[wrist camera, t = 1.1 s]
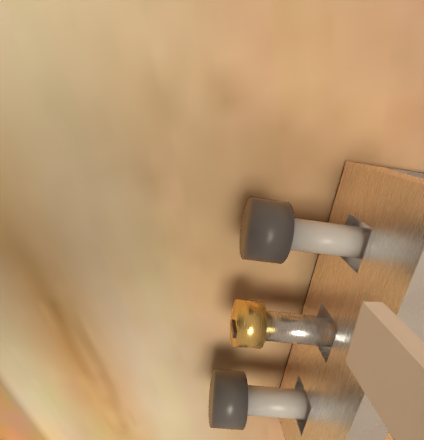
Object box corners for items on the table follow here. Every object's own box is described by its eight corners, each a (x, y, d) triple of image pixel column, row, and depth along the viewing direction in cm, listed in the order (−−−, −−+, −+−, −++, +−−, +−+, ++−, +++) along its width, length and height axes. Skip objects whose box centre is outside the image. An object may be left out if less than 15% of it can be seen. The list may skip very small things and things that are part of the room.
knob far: (208, 394, 33) (209, 440, 28) (215, 357, 31) (217, 400, 27) (304, 402, 34) (321, 448, 29) (316, 367, 32) (336, 410, 28)
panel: (275, 403, 37) (308, 529, 26) (346, 161, 28) (447, 191, 16) (340, 409, 38) (401, 533, 27) (431, 174, 29) (584, 212, 17)
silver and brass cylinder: (225, 325, 30) (229, 356, 26) (232, 290, 28) (237, 317, 25) (329, 336, 30) (348, 367, 27) (341, 302, 29) (362, 330, 25)
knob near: (237, 244, 27) (245, 270, 23) (247, 190, 26) (258, 207, 21) (352, 258, 28) (383, 286, 24) (368, 207, 27) (405, 227, 22)
